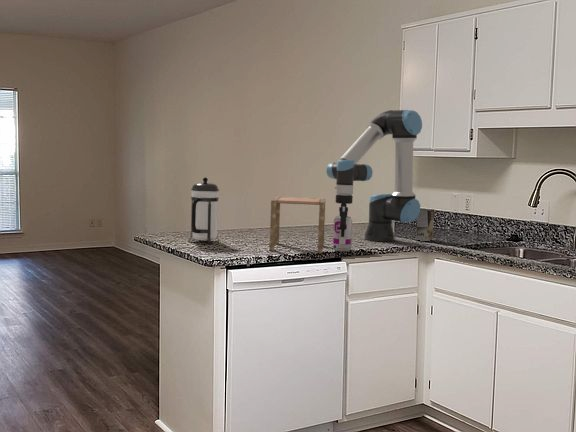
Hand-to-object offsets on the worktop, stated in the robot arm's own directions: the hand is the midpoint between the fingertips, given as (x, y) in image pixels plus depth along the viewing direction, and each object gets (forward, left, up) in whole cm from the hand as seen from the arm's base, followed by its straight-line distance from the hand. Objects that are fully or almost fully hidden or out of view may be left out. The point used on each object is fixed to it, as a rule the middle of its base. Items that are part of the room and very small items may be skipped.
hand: (342, 242), depth 310 cm
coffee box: (-42, -45, -4) cm, 62 cm away
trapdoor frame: (+20, 0, -4) cm, 20 cm away
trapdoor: (+20, 0, +16) cm, 26 cm away
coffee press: (+64, -5, -4) cm, 64 cm away
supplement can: (0, 0, -4) cm, 4 cm away
